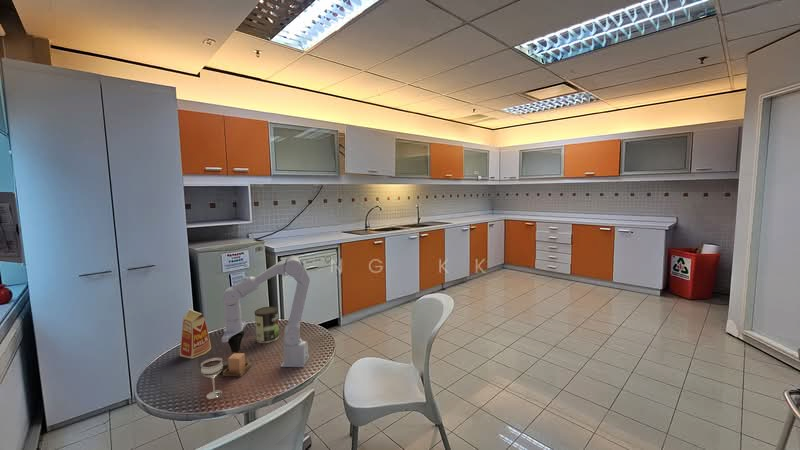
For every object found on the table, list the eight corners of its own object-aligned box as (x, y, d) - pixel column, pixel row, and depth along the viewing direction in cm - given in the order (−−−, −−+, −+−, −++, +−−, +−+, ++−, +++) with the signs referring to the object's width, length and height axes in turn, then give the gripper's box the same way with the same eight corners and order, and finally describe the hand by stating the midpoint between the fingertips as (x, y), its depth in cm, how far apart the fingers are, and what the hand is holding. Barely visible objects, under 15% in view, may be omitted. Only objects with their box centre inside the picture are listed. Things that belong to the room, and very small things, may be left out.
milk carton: (179, 355, 146) (175, 311, 144) (199, 346, 155) (195, 304, 152) (194, 359, 143) (190, 314, 140) (213, 349, 151) (209, 306, 149)
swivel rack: (215, 364, 138) (215, 358, 137) (251, 366, 137) (250, 359, 136) (204, 375, 130) (203, 368, 130) (241, 376, 129) (240, 369, 129)
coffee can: (282, 333, 167) (280, 306, 165) (274, 343, 157) (272, 314, 155) (261, 333, 167) (260, 306, 165) (252, 343, 157) (250, 314, 155)
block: (245, 368, 135) (244, 353, 135) (240, 374, 131) (239, 359, 130) (234, 368, 135) (233, 353, 135) (229, 374, 131) (227, 359, 130)
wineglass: (228, 387, 122) (225, 356, 121) (220, 399, 116) (218, 366, 114) (208, 389, 122) (205, 358, 120) (199, 401, 115) (196, 368, 113)
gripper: (233, 311, 138) (235, 342, 140) (212, 326, 123) (215, 361, 125) (249, 311, 138) (252, 342, 139) (231, 326, 123) (234, 361, 125)
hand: (235, 351), depth 132 cm, fingers closed
